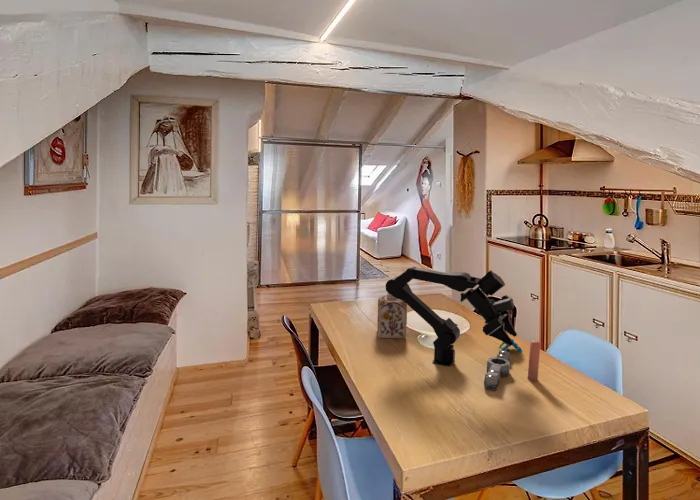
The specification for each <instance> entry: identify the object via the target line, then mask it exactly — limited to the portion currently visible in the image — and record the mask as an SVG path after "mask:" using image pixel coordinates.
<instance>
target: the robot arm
mask: <svg viewBox="0 0 700 500" xmlns="http://www.w3.org/2000/svg"><path fill="white" fill-rule="evenodd" d="M412 280H418V281H423V282H426V283H427V282H428V283H434V284H439V285H442V286H446V287H448V288H449V289H452V290H453V291H457V292H461V293H460V300H459V301H460V302H461V303H462V302H464V301H465V300H466V301H468V303H469V304H470V305H471V306H472V307H473V308H474V309H475V310H476V311H475V313H476V314H477V315H480V316H481V318H483V320H484V323H485V324H484V325H483V327H482V332H483V333H484V335H485V336H489V337H492V338H495V339H497V340H499V341H501V342H502V343H503V342H505V343H507V344H509V345H511V346H512V344H513V342H512V340H511V339H512V338H511V337H510V336H509V335H511V336H512V337H516V336H518V335H517V334H518V333H517V332H516V330H515V328H514V326H513V324H512V322H511V320H510V315H511V313H510V311H511V310H514V309H515V303H514V299H513V298H512V297H511V296H508V295H507V294H505V295H502V296H501V300H500V299H499V300H498V301H495V300H494V299H489V297H488V296H494V294H496V293H497V292H498V291H499V290H501V289H502V288H504V287H505V286H506V284H505V282H504V280H503V278H502V277H501V276H499V275H498V274H496V273H495V272H494V271H493V270H491V269H490V270H489V271H487V273H486V274H485V275H484V276H482V277H476V276H472V275H470V273H468V272H461V271H460V272H459V271H458V272H443V271H437V270H431V269H425V268H421V267H416V266H410V267H408V268H407V269H406V270H405V271H404V272H402V273H401V274H400V275H398V276H395V277H393V278H391V279H389V280H387V281H386V282H385V291H386V292H387V293H389V294H391V295H392V296H394V297H395V298H397V299H400V300H402V301H404V302H405V303H406V304H407V306H408V307H410V308H411V309H412V310H413V311H414V313H416V314H417V315H418V316H419V317H420V318H422V320H424V321H425V322H426V323H427V324H428V325H429V326H430V327H432V329H433V331H434V333H435V335H436V339H434V340H433V342H432V344H433V347H434V348H433V349H434V350H433V356H434V357H433V360H432V363H433V364H439V365H443V366H449V367H451V365H452V364H453V363H454V362H455V359H456V356H455V355H456V350H455V348H454V347H455V346H454V345H453V344H455V343H456V341H457V340H458V339H459V338H460V336H461V335H460V334H461V330H460V328H459V327H458V326H459V324H458V323H455V322H454V321H453V319H452V318H450V317H447V319H444V318H442V317H441V316H439V315H438V314H437V313H436V312H435V310H432V308H430V306H428V305H427V304H426V303H425V302H424V301H423V300H422V299H420V297H419V296H417V295H416V294H415V293H414V292H413V291H412V288H411V287H410V284H409V283H410V282H411V281H412ZM476 286H477V287H476ZM475 287H476V288H475ZM474 288H475V289H474ZM466 290H467V291H466ZM465 291H466V292H465ZM510 338H511V339H510Z"/></svg>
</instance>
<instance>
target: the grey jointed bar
mask: <svg viewBox="0 0 700 500" xmlns="http://www.w3.org/2000/svg"><path fill="white" fill-rule="evenodd" d="M510 357H511V352H510V351H506V350H505V351H502V349H501V350H500V349H499V351H498V354H496V356H494V357H489V358H488V359H487V361H486V373H485V376H484V381H483V387H484V389H485V390H489V391H490V390H491V391H494V392H495V391H497V390H498V387H499V385H500V384H501V383H500V382H501V378H507V377H509V376H510V370H511V369H510V367H511V362H510Z"/></svg>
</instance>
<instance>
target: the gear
mask: <svg viewBox="0 0 700 500" xmlns="http://www.w3.org/2000/svg"><path fill="white" fill-rule="evenodd" d="M510 339H511V340H512V342H513V344H512V345H509V344H507V343H505V342H503V341H502V342H501V344H499V346H498V347H499V348H502V349H501V351H506V350H507V349H508V348H509V347H511V346H512V347H513V348H514V349H515V350H517V351H518V352H520V353H523V350H522V348H521V347H520V346H519V344H518V343H516V342H515V340H514V339H512V338H511V337H510ZM504 345H505V346H504ZM503 346H504V347H503Z"/></svg>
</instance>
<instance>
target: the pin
mask: <svg viewBox="0 0 700 500" xmlns="http://www.w3.org/2000/svg"><path fill="white" fill-rule="evenodd" d="M540 350H541V341H539V340H536V339H535V340H534V339H533V340H530V341H529V357H528V367H527V368H528V371H527V380H528V381H530V382H534V383H535V382H538V380H539V379H538V378H539V366H540V352H541V351H540Z"/></svg>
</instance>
